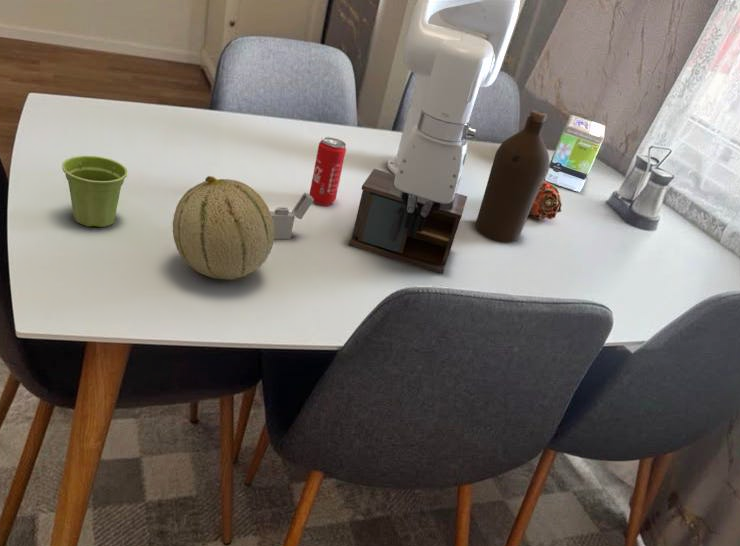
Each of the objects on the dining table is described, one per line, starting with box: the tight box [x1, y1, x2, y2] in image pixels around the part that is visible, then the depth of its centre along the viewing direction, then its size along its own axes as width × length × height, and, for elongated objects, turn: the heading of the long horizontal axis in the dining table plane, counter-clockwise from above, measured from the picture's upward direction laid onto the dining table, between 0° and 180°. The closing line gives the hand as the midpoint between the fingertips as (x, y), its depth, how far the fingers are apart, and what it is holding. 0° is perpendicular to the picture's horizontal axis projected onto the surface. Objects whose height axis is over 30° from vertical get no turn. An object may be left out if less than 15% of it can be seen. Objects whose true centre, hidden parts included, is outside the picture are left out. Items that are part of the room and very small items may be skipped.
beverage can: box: [309, 136, 347, 207], centre depth 136 cm, size 5×5×12 cm
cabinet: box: [348, 168, 468, 275], centre depth 127 cm, size 10×18×11 cm, turn 77°
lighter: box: [269, 192, 314, 240], centre depth 121 cm, size 7×2×8 cm, turn 115°
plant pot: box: [61, 155, 129, 228], centre depth 111 cm, size 9×9×9 cm
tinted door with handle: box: [358, 192, 408, 254], centre depth 122 cm, size 4×8×9 cm, turn 77°
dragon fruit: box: [528, 179, 563, 221], centre depth 158 cm, size 8×8×12 cm
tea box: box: [544, 114, 606, 193], centre depth 183 cm, size 15×10×15 cm
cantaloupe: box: [172, 175, 275, 281], centre depth 104 cm, size 15×15×15 cm
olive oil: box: [474, 109, 550, 243], centre depth 140 cm, size 11×11×25 cm
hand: (411, 233), depth 120 cm, fingers closed
